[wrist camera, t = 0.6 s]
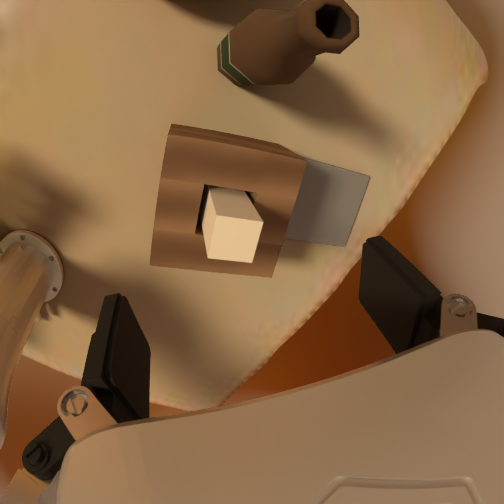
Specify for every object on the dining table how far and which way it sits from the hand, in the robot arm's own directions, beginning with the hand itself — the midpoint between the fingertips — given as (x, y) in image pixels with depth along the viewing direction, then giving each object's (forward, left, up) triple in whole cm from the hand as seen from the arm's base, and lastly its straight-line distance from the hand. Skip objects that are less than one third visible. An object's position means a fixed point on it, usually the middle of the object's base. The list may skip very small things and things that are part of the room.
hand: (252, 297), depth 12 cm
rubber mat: (-5, -19, -30) cm, 36 cm away
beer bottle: (+12, -3, -31) cm, 33 cm away
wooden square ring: (-5, -3, -30) cm, 31 cm away
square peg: (-5, -3, -26) cm, 27 cm away
